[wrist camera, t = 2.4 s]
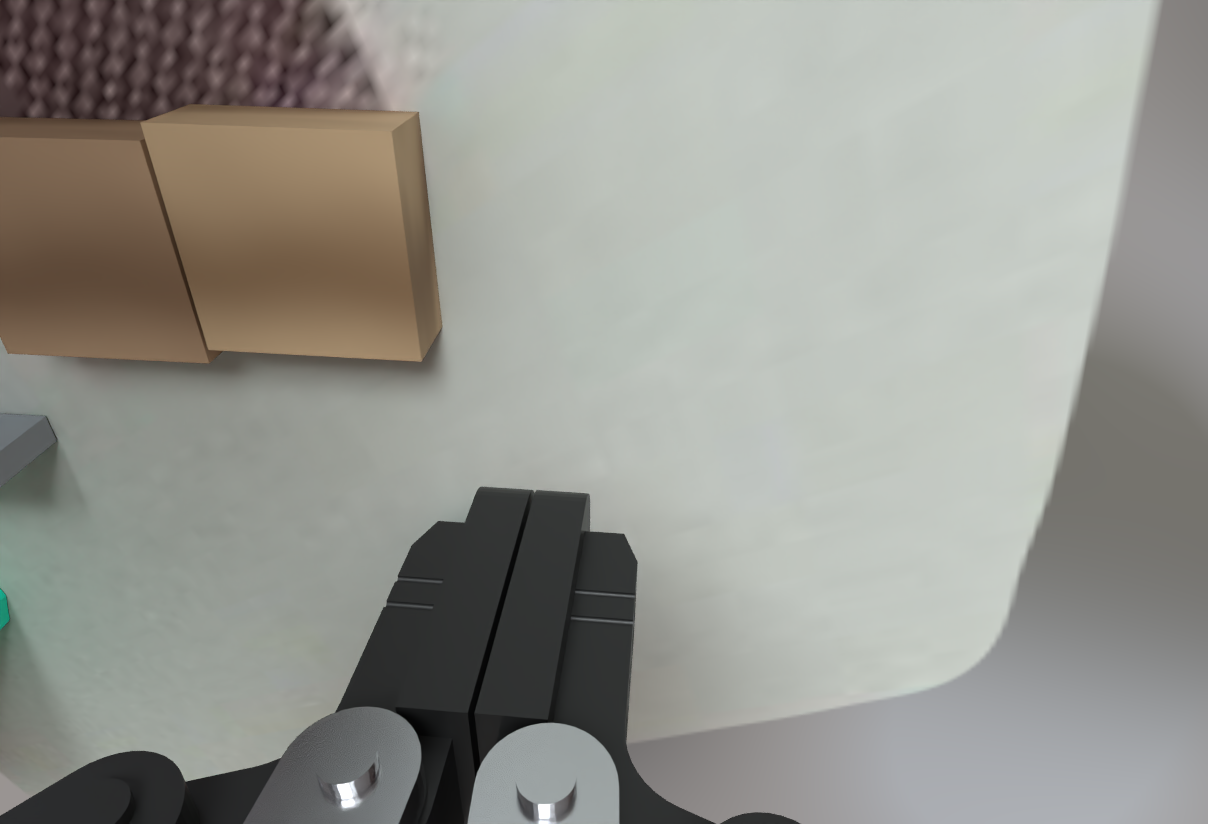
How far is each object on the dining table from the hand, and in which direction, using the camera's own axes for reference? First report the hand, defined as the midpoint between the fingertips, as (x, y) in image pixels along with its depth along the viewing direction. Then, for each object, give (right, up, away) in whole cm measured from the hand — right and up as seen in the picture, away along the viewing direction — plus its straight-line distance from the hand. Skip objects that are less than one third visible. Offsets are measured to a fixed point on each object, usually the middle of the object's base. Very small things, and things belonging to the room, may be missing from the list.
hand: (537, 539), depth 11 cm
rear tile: (-13, +7, +11) cm, 19 cm away
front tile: (-7, +7, +11) cm, 15 cm away
